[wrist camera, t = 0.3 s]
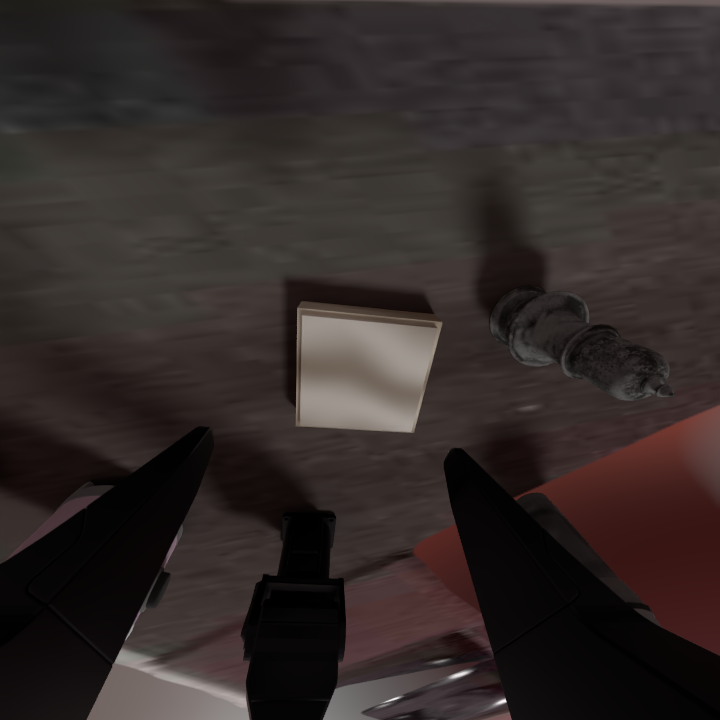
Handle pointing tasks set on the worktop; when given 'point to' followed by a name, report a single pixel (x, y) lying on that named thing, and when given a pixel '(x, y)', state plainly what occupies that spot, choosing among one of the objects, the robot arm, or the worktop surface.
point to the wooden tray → (362, 366)
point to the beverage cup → (580, 548)
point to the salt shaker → (576, 343)
